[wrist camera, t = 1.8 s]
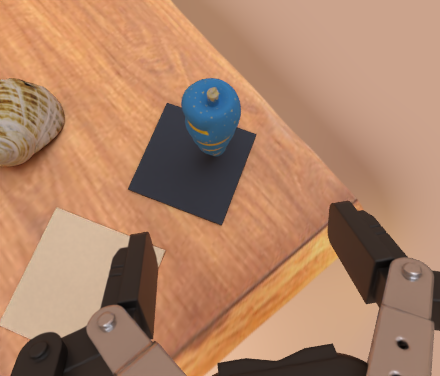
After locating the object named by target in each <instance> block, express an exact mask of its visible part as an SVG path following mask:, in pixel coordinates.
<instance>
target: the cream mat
mask: <svg viewBox="0 0 440 376" xmlns="http://www.w3.org/2000/svg"><path fill="white" fill-rule="evenodd" d="M129 238H130V236H128V235H126V234H123V233H121V232H118V231H116V230H113V229H110V228H108V227H105V226H103V225H100V224H98V223H95V222H93V221H90V220H88V219H85V218H83V217H80V216H78V215H75V214H73V213H70V212H68V211H65V210H63V209H60V208H57V207H56V209H55V211H54V213H53V215H52V217H51V219H50V221H49V223H48V225H47V227H46V229H45V231H44V233H43V236H42V238H41V240H40V242H39V244H38V246H37V248H36V250H35V252H34V254H33V256H32V258H31V260H30V262H29V264H28V266H27V268H26V270H25V272H24V274H23V276H22V278H21V280H20V282H19V284H18V286H17V288H16V290H15V292H14V294H13V296H12V298H11V300H10V302H9V304H8V306H7V308H6V310H5V312H4V314H3V316H2V318H1V320H0V326H1V327H4V328H6V329H8V330H10V331H13V332H15V333H17V334H20V335H22V336H24V337H26V338H29V339H33V338H34V337H36V336H37V335H40V334H42V333H45V332H55V333H57V334H58V335H60V337H61V338H62V337H64V336H66V335H68V334H71V333H73V332H75V331H77V330H79V329H81V328H83V327H85V326H86V325H87V323H88V321H89V319H90V318H91V317H92V315H93V314H94V313H95V312H97V311H98V310H99V309H100V307H101V304H102V299H103V295H104V291H105V287H106V283H107V279H108V277H109V276H108V275H109V271H110V267H111V263H112V258H113V257H114V255H115V254H116V252H117V251H118V250H119V248H124V247H128V243H129ZM153 247H154V251H155V254H156V257H157V262H158V268H159V266H160V263H161V261H162V258H163V256H164V254H165V251H166V250H163V249H161V248H158V247H156V246H153Z"/></svg>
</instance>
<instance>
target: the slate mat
mask: <svg viewBox="0 0 440 376" xmlns="http://www.w3.org/2000/svg"><path fill="white" fill-rule="evenodd" d="M255 137H256V134H254V133H251V132H248V131H245V130H243V129H240V128H237V127H236V129H235V133H234V135H233V137H232V139H231V140H230V141H229V143H228V145H227V147H226V149H225V151H224V152H223V153H222V154H221V155H220V156H212V155H209V154H206V153H204V152H203V151H201V149H200V148H199V147H198V145H197V144H196V143H195V142H194V140H193V138H192V136H191V135H190V134H189V132H188V130H187V128H186V125H185V115H184V113H183V110H182V108H181V107H178V106H175V105H172V104H169V103H167V104H166V106H165V108H164V111H163V113H162V115H161V117H160V119H159V122H158V124H157V126H156V128H155V130H154V133H153V135H152V137H151V139H150V142H149V144H148V146H147V148H146V150H145V153H144V155H143V157H142V159H141V161H140V164H139V166H138V168H137V170H136V172H135V175H134V177H133V179H132V181H131V183H130V186H129V188H128V190H131V191H133V192H136V193H138V194H141V195H144V196H146V197H149V198H151V199H154V200H157V201H159V202H162V203H164V204H167V205H170V206H172V207H175V208H178V209H180V210H183V211H185V212H188V213H191V214H193V215H196V216H198V217H201V218H204V219H206V220H209V221H211V222H214V223H217V224H219V225H222V223H223V221H224V218H225V216H226V213H227V210H228V208H229V205H230V202H231V200H232V197H233V195H234V192H235V189H236V187H237V184H238V181H239V179H240V176H241V174H242V171H243V168H244V166H245V163H246V161H247V158H248V155H249V153H250V150H251V147H252V145H253V142H254V140H255Z"/></svg>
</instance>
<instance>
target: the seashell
mask: <svg viewBox="0 0 440 376" xmlns="http://www.w3.org/2000/svg"><path fill="white" fill-rule="evenodd" d="M63 124H64V113H63V110H62V106H61V104H60V103H59V102H58V100H57V99H56V98H55V97H54V96H53V95H52V94H51V93H50V92H49V91H48V90H47V89H46V88H44V87H42V86H38V85H35V84H33V83H29V82H25V81H23V80H20V79H14V78H9V79H6V80H3V79H1V80H0V166H15V165H19V164H22V163H24V162H26V161H27V160H28V159H30V158H31V156H32V155H33V154H34V153H36V152H38V151H39V150H40V149H41V148H43V147H44V146H46V145H47V144H48V143H49V142H50V141H51V140H52V139H54V138H55V137H56V136H57V135H58V133H59V132H60V131H61V129H62V127H63Z"/></svg>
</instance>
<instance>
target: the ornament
mask: <svg viewBox="0 0 440 376" xmlns="http://www.w3.org/2000/svg"><path fill="white" fill-rule="evenodd" d="M181 105H182V110H183V113H184V115H185V125H186V128H187V130H188V132H189V134H190V135H191V136H192V138H193V140H194V142H195V143H196V144H197V145H198V147H199V148H200V149H201V151H203V152H204V153H206V154H209V155H212V156H220V155H221V154H222V153H223V152H224V151H225V149H226V147H227V145H228V143H229V141H230V140H231V139H232V137H233V135H234V133H235V129H236V127H237V126H238V123H239V120H240V115H241V106H240V101H239V98H238V96H237V94H236V92H235V90H234V89H233V88H232V87H231V86H230V85H229V84H228V83H226V82H224V81H222V80H219V79H214V78H208V79H202V80H199V81H197V82H195V83H194V84H192V85H191V86H189V87H188V88H187V89H186V91H185V92H184V94H183V97H182V103H181Z"/></svg>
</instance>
